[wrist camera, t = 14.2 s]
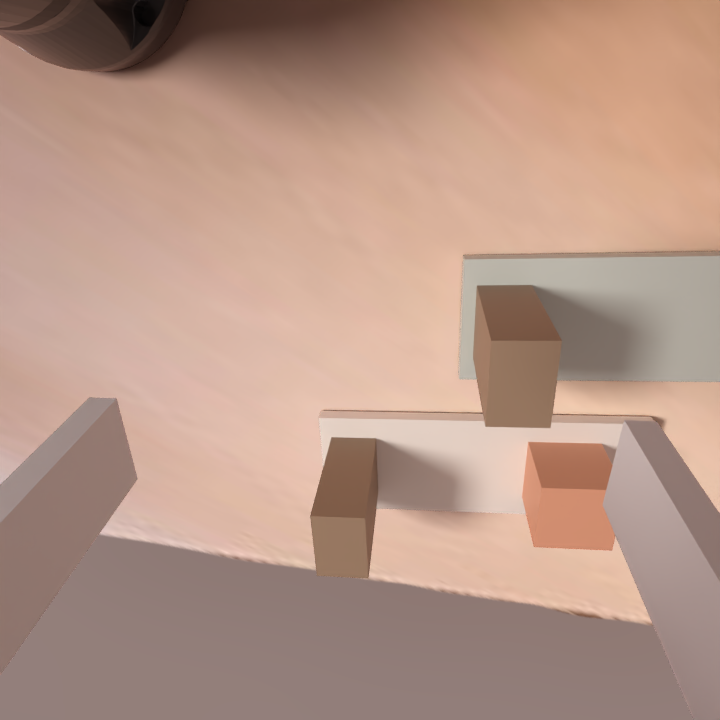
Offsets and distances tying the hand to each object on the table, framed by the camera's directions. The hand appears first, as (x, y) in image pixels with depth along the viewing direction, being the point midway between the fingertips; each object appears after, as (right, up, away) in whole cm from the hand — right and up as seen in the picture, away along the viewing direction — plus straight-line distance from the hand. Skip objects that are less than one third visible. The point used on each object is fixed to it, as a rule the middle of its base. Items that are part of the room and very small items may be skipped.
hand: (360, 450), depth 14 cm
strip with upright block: (+22, +6, +27) cm, 36 cm away
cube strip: (+11, -7, +35) cm, 37 cm away
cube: (+17, -7, +33) cm, 38 cm away
